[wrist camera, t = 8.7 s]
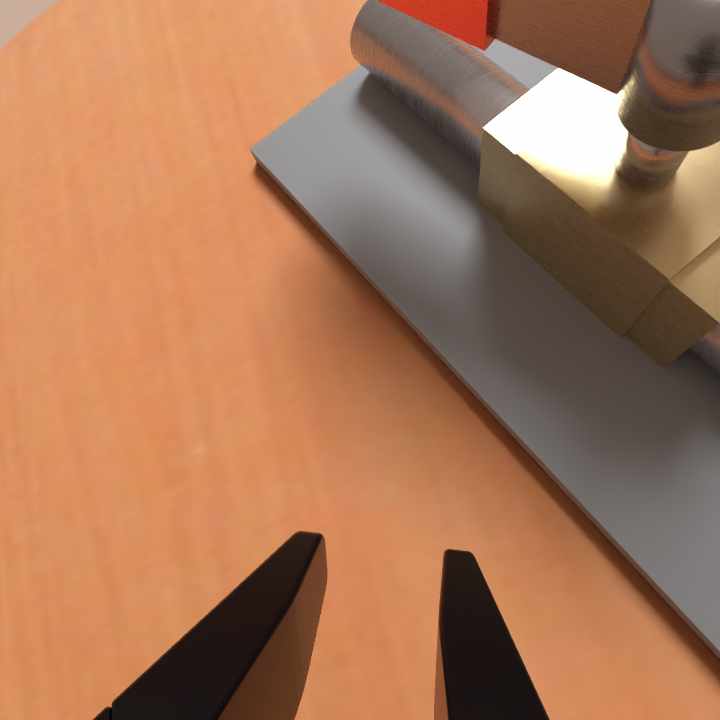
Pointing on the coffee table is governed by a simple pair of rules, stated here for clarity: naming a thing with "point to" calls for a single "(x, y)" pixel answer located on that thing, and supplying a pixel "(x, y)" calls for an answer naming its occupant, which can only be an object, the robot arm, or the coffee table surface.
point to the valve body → (570, 183)
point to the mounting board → (517, 330)
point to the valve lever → (610, 54)
